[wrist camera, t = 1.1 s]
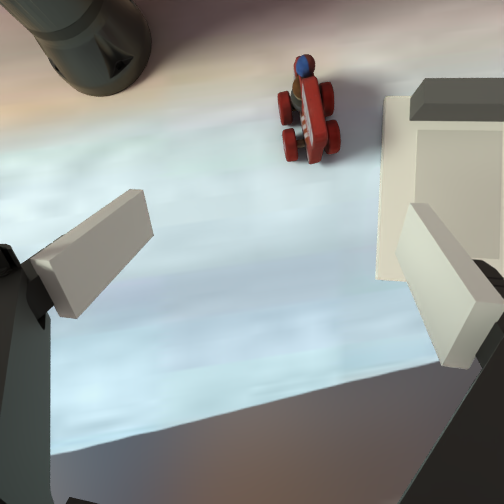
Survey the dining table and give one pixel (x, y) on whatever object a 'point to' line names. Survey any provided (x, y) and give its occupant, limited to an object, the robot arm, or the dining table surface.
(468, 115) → the grey rectangular block
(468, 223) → the mat
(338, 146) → the red toy car
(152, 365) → the dining table surface
